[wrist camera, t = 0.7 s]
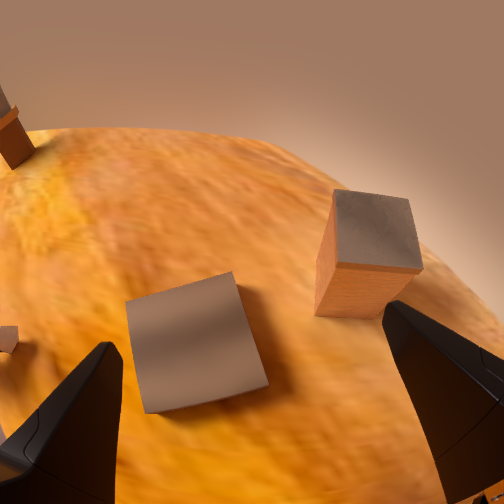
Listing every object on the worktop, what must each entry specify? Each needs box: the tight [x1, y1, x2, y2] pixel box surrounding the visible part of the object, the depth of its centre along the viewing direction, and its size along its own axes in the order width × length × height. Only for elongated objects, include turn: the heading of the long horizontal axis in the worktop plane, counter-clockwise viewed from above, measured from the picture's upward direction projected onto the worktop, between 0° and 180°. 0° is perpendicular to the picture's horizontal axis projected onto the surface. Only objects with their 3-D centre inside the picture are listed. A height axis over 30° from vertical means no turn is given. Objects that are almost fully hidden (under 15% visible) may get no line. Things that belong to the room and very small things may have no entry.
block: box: [126, 271, 269, 414], centre depth 22 cm, size 10×10×3 cm
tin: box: [314, 189, 424, 319], centre depth 21 cm, size 6×6×10 cm
